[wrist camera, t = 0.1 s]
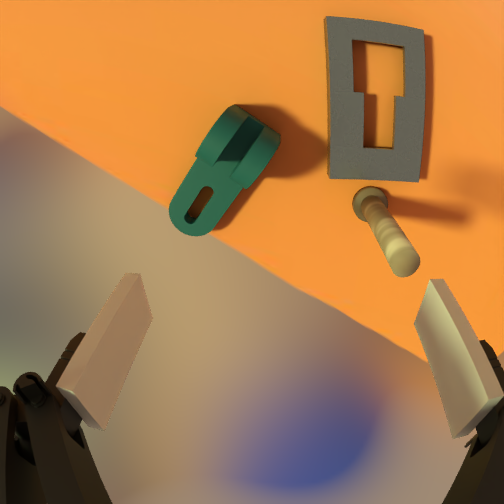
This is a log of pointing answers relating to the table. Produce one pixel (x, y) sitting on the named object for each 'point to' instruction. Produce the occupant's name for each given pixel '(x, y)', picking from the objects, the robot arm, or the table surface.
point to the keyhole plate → (352, 103)
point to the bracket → (223, 168)
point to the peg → (386, 230)
